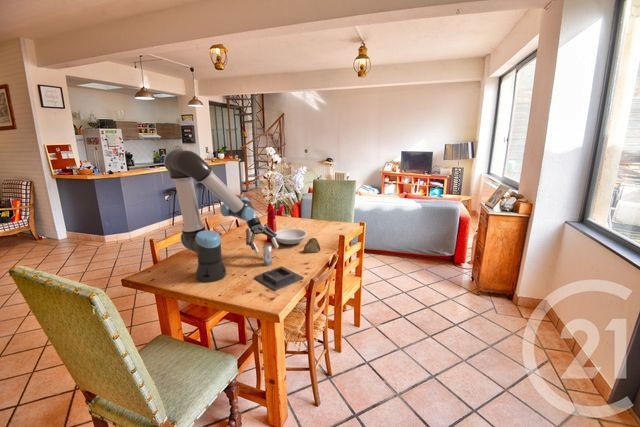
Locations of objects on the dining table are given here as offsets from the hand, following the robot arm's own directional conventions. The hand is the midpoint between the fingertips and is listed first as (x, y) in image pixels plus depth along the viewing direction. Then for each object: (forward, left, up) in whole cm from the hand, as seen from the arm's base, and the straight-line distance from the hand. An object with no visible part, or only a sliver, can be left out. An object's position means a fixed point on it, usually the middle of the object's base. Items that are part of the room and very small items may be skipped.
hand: (267, 250), depth 174 cm
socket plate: (-8, -21, -7) cm, 24 cm away
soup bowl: (+30, +18, -7) cm, 36 cm away
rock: (+30, -4, -7) cm, 31 cm away
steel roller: (-2, -2, -7) cm, 8 cm away
